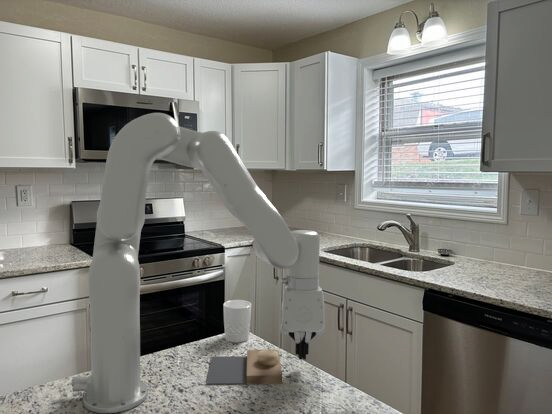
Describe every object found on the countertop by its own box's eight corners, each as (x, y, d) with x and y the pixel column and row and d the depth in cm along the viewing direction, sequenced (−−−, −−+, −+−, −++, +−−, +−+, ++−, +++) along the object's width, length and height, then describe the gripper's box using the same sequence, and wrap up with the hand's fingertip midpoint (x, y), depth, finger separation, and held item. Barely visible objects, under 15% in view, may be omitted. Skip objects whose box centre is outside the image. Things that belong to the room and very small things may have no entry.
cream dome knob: (257, 366, 101) (257, 358, 100) (257, 357, 106) (257, 349, 105) (278, 366, 101) (279, 358, 101) (277, 357, 106) (277, 349, 106)
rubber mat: (206, 384, 96) (206, 383, 96) (211, 357, 110) (211, 356, 110) (246, 384, 96) (246, 383, 96) (247, 357, 110) (247, 356, 110)
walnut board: (246, 384, 96) (246, 375, 96) (247, 357, 110) (247, 349, 110) (282, 383, 97) (282, 375, 96) (278, 357, 111) (278, 349, 110)
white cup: (217, 338, 122) (217, 304, 121) (236, 330, 128) (236, 298, 128) (238, 346, 117) (238, 310, 117) (256, 337, 124) (256, 303, 123)
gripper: (272, 286, 98) (271, 364, 100) (337, 286, 99) (335, 363, 100) (270, 278, 106) (270, 351, 107) (331, 278, 106) (329, 350, 108)
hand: (301, 357), depth 104 cm, fingers closed
